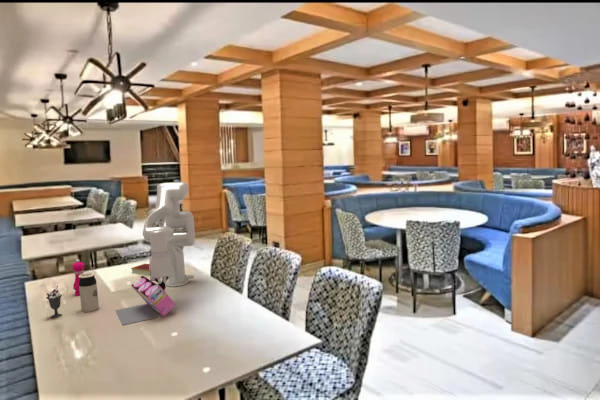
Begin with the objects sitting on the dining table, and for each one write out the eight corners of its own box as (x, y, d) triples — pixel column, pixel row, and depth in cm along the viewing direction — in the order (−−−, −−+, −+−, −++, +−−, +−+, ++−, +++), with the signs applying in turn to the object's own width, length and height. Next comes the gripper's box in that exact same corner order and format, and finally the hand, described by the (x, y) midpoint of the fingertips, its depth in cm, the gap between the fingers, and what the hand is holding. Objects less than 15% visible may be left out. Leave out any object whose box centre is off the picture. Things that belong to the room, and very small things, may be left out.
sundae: (67, 314, 216) (64, 284, 214) (56, 319, 210) (52, 289, 208) (57, 313, 218) (54, 283, 216) (45, 318, 212) (42, 288, 210)
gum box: (145, 303, 226) (129, 285, 220) (157, 292, 230) (142, 274, 223) (164, 316, 208) (146, 297, 201) (176, 304, 211) (160, 285, 205)
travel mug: (78, 311, 219) (74, 276, 217) (90, 305, 226) (87, 272, 224) (90, 313, 216) (86, 277, 214) (102, 307, 224) (99, 273, 221)
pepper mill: (77, 292, 249) (73, 258, 247) (90, 291, 250) (86, 257, 247) (71, 296, 242) (68, 261, 240) (85, 295, 243) (81, 260, 240)
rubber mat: (148, 303, 226) (148, 303, 226) (158, 317, 207) (158, 316, 207) (115, 310, 218) (115, 310, 218) (122, 325, 199) (122, 324, 199)
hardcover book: (145, 269, 294) (145, 262, 294) (168, 272, 284) (168, 266, 283) (131, 273, 284) (130, 267, 283) (154, 277, 274) (154, 271, 273)
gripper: (172, 250, 222) (175, 285, 225) (142, 255, 215) (145, 291, 217) (176, 253, 216) (179, 289, 218) (145, 258, 208) (148, 295, 210)
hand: (162, 290), depth 217 cm, fingers closed
